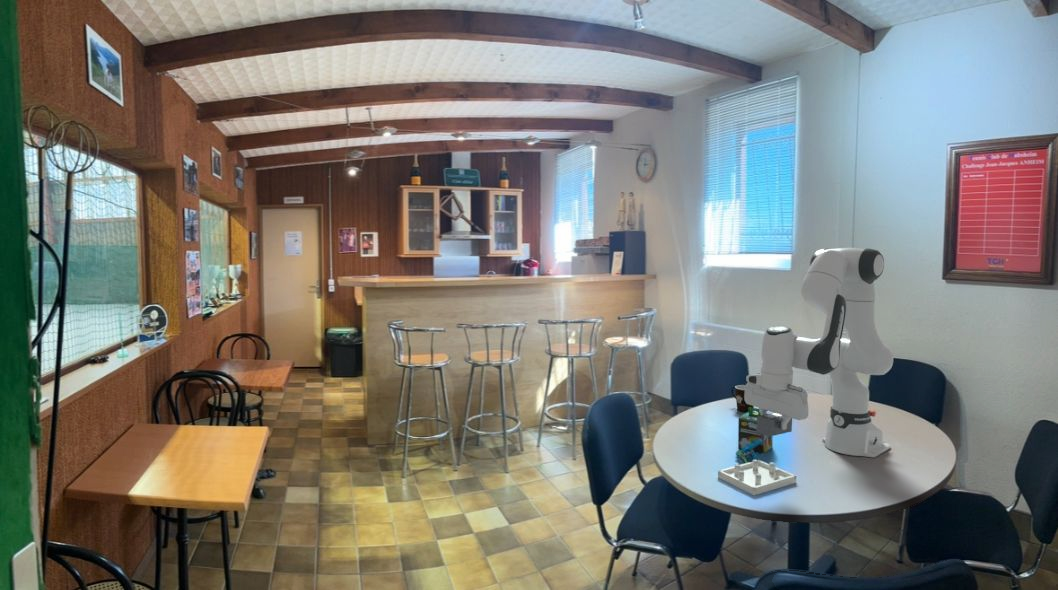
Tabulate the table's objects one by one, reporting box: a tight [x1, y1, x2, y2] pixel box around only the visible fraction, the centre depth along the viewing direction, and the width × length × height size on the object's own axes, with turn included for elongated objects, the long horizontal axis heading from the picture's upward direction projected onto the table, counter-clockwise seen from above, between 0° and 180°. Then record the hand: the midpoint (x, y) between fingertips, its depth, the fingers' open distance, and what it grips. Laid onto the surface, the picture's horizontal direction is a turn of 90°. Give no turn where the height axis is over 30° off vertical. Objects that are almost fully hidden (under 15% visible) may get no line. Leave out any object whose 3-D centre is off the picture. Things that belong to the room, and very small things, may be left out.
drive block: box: [756, 412, 793, 437], centre depth 170 cm, size 10×4×5 cm, turn 118°
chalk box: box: [737, 407, 774, 455], centre depth 200 cm, size 9×9×15 cm
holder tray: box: [717, 459, 797, 496], centre depth 174 cm, size 18×14×4 cm
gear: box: [735, 439, 762, 463], centre depth 190 cm, size 11×6×10 cm
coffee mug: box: [730, 384, 755, 414], centre depth 245 cm, size 12×9×10 cm
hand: (774, 426), depth 170 cm, fingers closed on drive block, 4 cm apart
